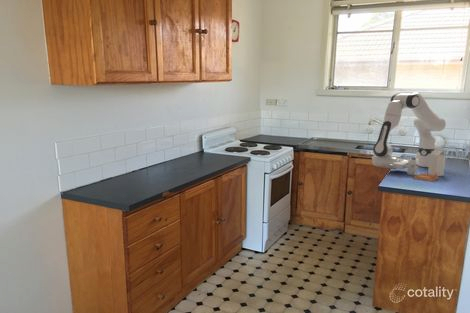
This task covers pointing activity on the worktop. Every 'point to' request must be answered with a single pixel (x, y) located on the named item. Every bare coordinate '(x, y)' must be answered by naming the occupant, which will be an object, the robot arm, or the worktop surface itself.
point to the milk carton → (437, 162)
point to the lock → (414, 164)
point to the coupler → (426, 177)
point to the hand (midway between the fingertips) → (414, 166)
